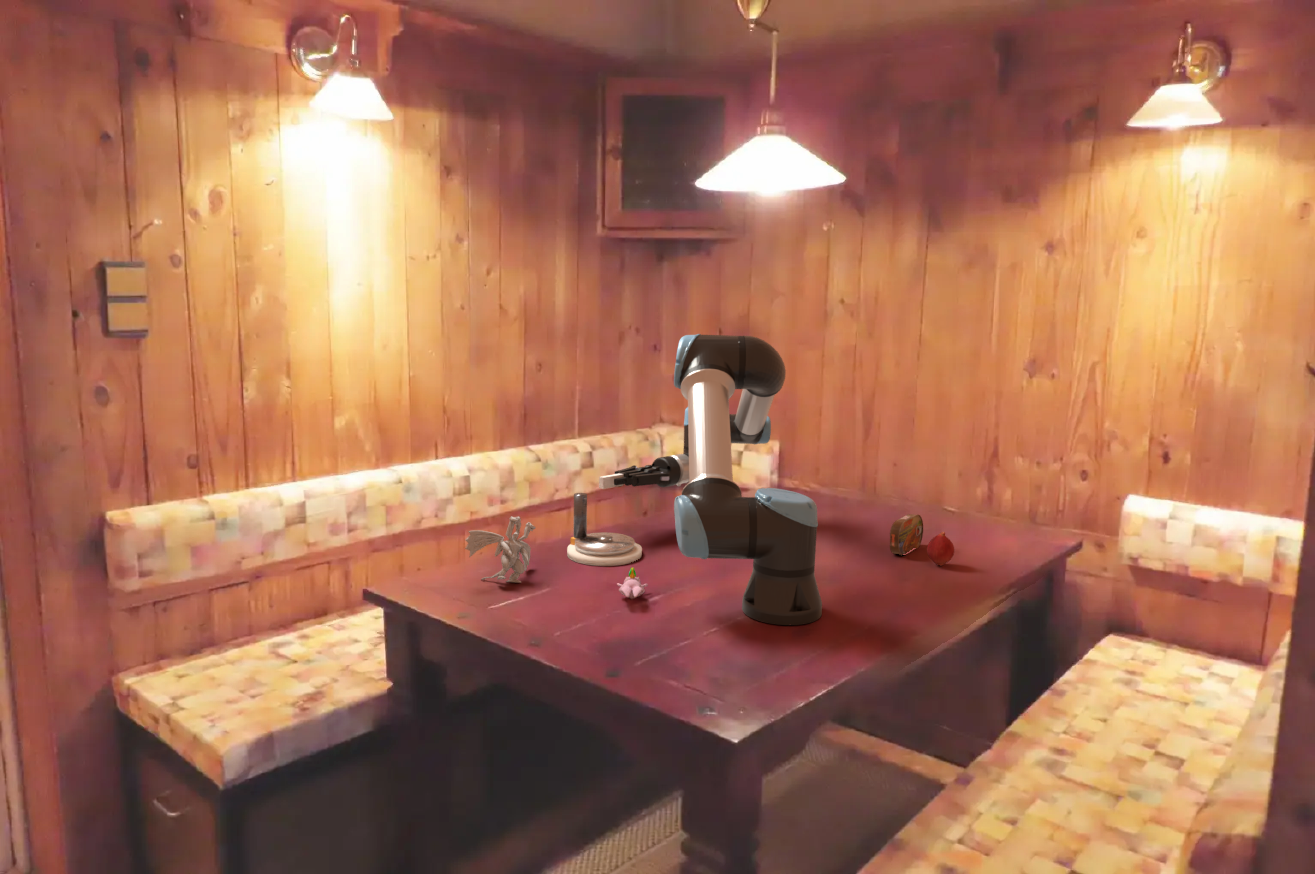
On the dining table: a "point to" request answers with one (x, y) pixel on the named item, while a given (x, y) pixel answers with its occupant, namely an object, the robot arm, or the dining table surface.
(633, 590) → the rabbit figure
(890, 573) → the dining table surface
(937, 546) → the onion
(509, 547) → the grey dragon figurine
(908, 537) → the tin
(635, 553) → the dial base
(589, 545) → the dial
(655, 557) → the dining table surface
